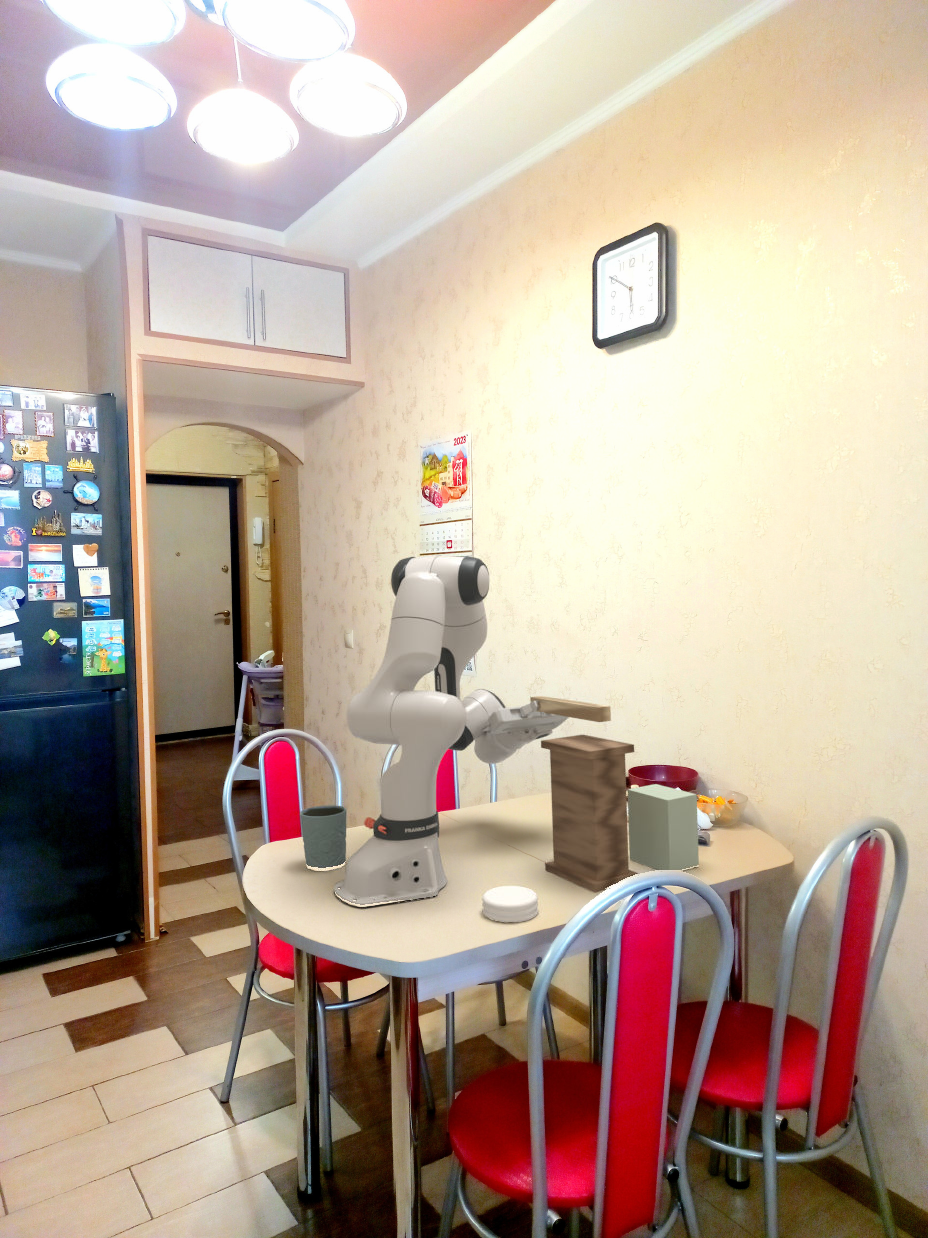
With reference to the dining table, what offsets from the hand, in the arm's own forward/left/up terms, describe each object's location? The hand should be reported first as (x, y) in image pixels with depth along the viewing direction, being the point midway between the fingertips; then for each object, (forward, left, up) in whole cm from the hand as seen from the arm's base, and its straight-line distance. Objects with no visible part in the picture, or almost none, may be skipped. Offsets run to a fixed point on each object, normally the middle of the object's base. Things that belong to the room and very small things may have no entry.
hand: (545, 702), depth 185 cm
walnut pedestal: (-4, -19, -33) cm, 38 cm away
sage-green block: (+13, -22, -33) cm, 42 cm away
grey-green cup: (-46, +20, -33) cm, 60 cm away
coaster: (-28, -26, -33) cm, 51 cm away
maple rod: (0, -8, -2) cm, 8 cm away
